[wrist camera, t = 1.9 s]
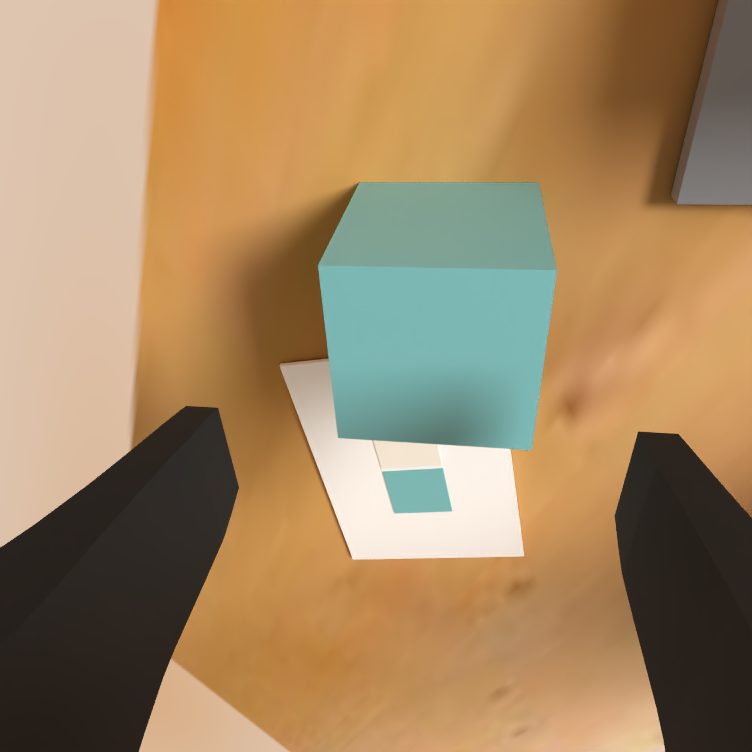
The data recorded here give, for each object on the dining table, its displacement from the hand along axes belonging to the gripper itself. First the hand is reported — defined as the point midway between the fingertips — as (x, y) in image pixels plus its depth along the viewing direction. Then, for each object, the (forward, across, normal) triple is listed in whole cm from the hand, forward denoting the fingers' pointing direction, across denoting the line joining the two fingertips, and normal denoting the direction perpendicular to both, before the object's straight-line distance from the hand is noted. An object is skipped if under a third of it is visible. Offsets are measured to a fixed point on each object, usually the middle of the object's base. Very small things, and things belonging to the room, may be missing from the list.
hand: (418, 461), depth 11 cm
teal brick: (+8, 0, 0) cm, 8 cm away
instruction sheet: (+8, +1, +8) cm, 11 cm away
